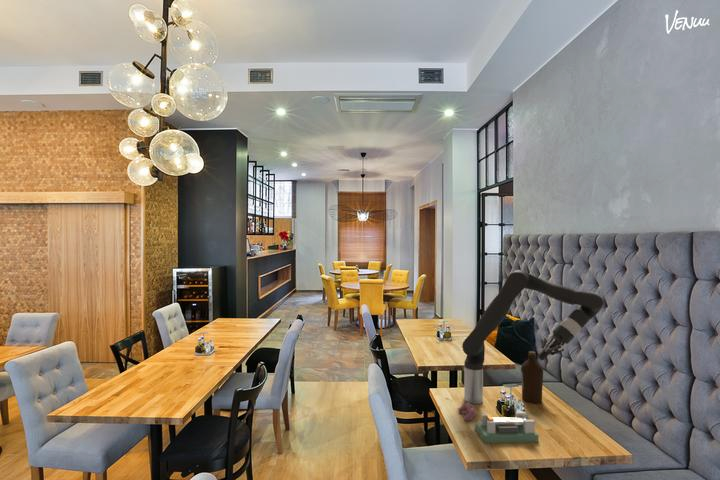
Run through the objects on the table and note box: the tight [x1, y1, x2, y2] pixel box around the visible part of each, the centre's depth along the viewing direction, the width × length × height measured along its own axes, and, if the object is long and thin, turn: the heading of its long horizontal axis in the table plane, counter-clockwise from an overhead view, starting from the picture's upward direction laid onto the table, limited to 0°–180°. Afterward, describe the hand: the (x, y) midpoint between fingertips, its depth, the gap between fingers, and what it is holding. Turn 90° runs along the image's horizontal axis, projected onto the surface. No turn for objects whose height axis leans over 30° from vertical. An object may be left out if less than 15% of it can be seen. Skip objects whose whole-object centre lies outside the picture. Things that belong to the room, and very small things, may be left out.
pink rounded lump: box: [458, 402, 477, 422], centre depth 173 cm, size 10×5×7 cm, turn 1°
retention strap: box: [486, 414, 527, 425], centre depth 157 cm, size 5×17×2 cm, turn 92°
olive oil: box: [520, 350, 544, 404], centre depth 192 cm, size 11×11×25 cm
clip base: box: [474, 411, 539, 444], centre depth 157 cm, size 11×22×8 cm, turn 92°
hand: (539, 358), depth 160 cm, fingers closed
